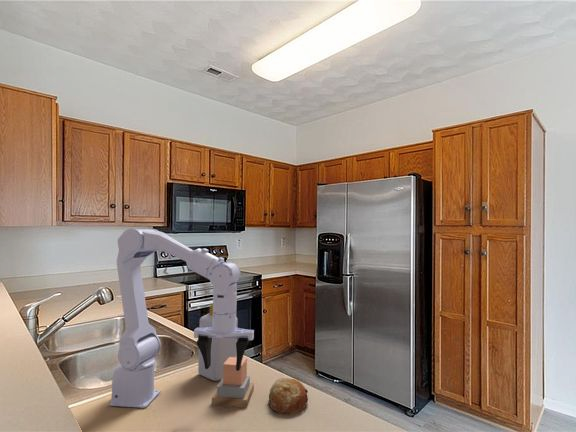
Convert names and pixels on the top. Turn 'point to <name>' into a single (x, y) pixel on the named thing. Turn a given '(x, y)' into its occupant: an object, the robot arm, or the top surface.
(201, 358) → the soap bottle
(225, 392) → the grey slab
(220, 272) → the robot arm
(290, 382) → the bread roll
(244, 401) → the walnut slab
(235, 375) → the terracotta cube
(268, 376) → the top surface
